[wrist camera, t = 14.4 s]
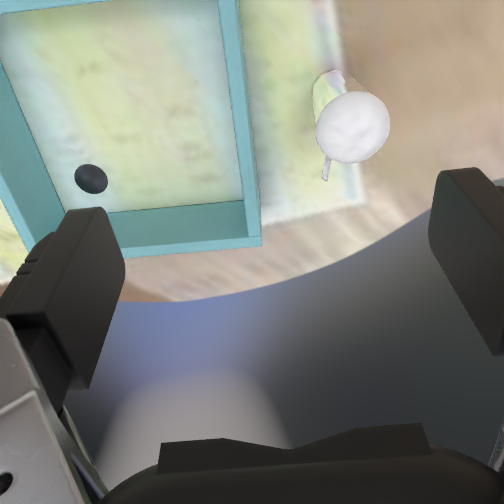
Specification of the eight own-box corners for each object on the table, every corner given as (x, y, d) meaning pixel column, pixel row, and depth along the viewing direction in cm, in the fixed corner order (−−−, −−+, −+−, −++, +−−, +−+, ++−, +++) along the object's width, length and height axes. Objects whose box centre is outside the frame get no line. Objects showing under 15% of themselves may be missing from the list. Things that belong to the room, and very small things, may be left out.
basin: (-43, -6, 29) (-101, 5, 24) (234, -41, 28) (231, -37, 23) (60, 226, 40) (34, 266, 36) (260, 208, 39) (262, 246, 34)
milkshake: (284, 106, 34) (295, 159, 26) (330, 46, 31) (359, 85, 23) (327, 139, 35) (350, 198, 27) (374, 84, 33) (415, 133, 25)
